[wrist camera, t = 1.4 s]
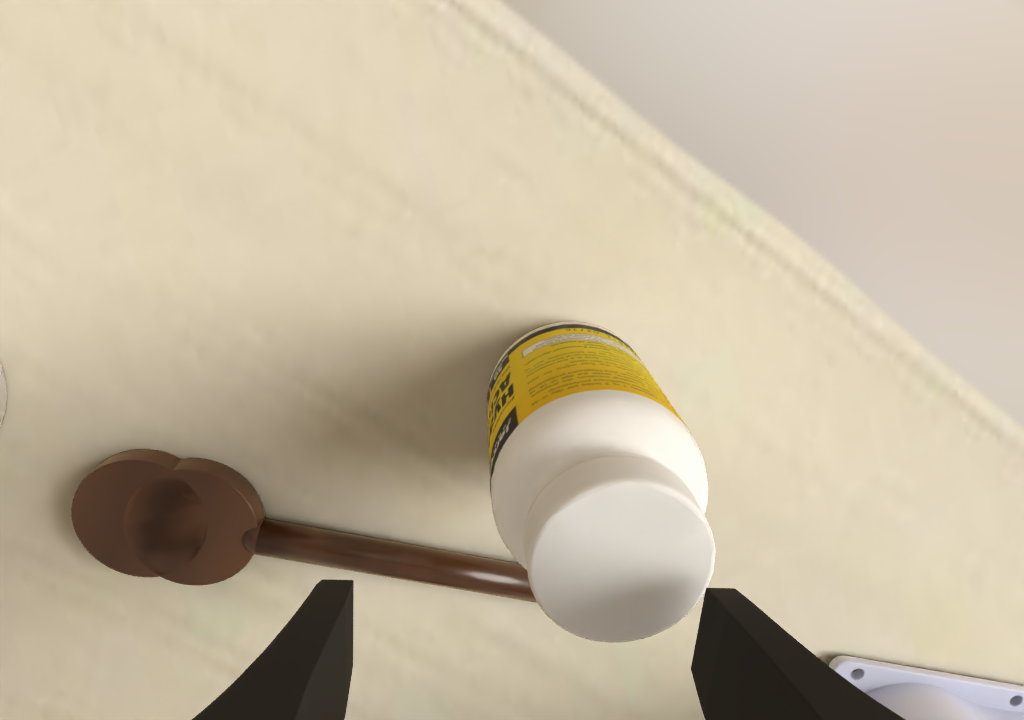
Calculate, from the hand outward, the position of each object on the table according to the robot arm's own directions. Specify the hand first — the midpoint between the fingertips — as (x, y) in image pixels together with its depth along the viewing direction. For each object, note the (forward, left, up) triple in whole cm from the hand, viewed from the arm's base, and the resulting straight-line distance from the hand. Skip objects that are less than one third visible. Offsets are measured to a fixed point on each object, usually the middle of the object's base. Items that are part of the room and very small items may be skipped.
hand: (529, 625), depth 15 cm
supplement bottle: (-2, -1, -11) cm, 11 cm away
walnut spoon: (+4, +6, -10) cm, 13 cm away
